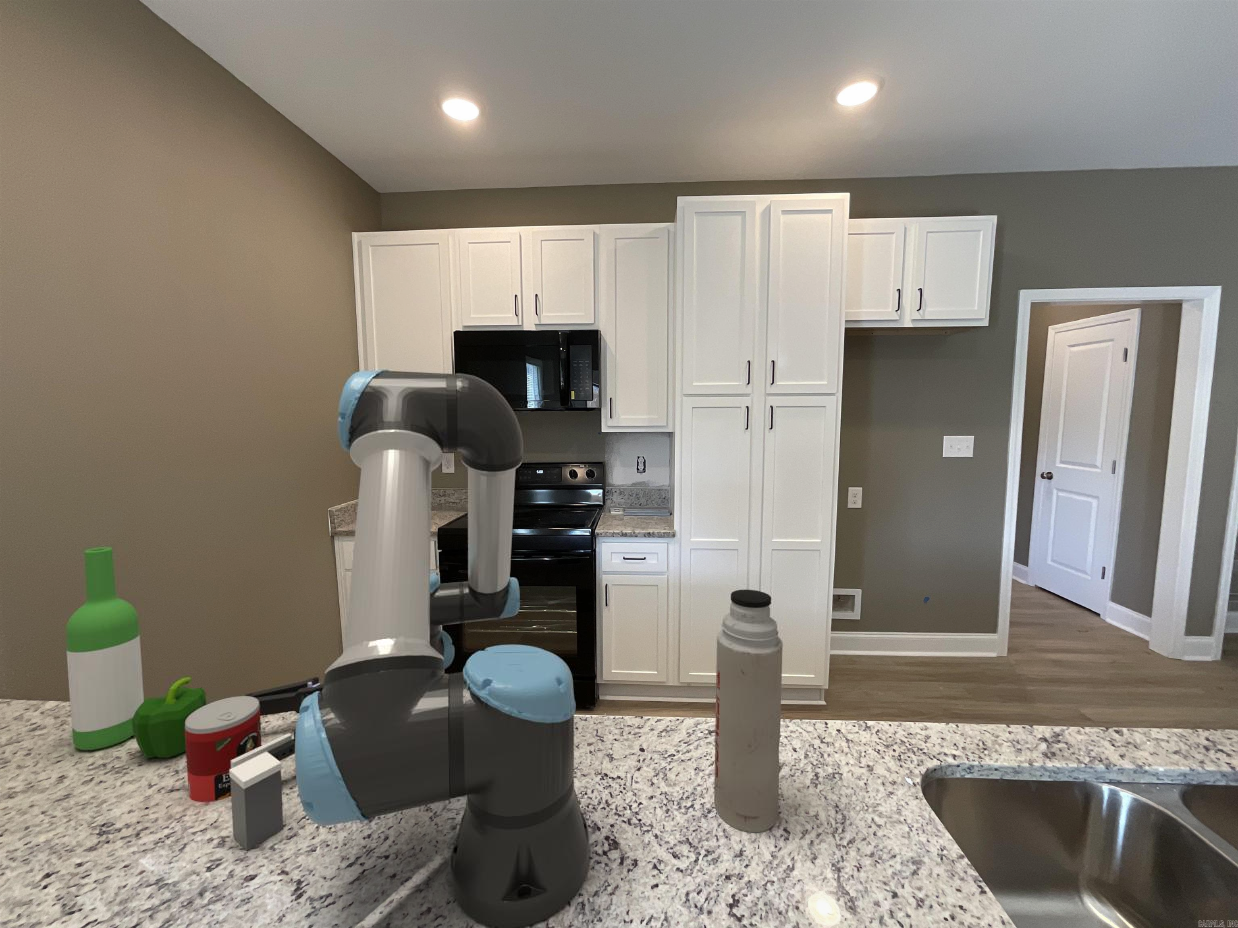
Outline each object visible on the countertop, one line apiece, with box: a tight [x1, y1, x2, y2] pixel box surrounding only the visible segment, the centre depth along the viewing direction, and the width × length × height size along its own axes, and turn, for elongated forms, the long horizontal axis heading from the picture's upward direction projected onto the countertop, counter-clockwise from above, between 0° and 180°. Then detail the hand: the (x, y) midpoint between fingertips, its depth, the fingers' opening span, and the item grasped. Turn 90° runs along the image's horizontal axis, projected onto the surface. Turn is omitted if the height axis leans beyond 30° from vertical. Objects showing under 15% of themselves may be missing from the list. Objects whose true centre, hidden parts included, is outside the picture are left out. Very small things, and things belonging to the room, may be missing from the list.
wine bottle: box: [65, 546, 145, 751], centre depth 74 cm, size 8×8×30 cm
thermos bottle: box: [713, 589, 784, 833], centre depth 61 cm, size 8×8×28 cm
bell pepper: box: [132, 677, 207, 759], centre depth 72 cm, size 8×8×10 cm
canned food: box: [185, 695, 262, 803], centre depth 64 cm, size 8×8×11 cm
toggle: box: [229, 752, 284, 852], centre depth 56 cm, size 4×4×8 cm
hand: (210, 752), depth 63 cm, fingers open, 13 cm apart
